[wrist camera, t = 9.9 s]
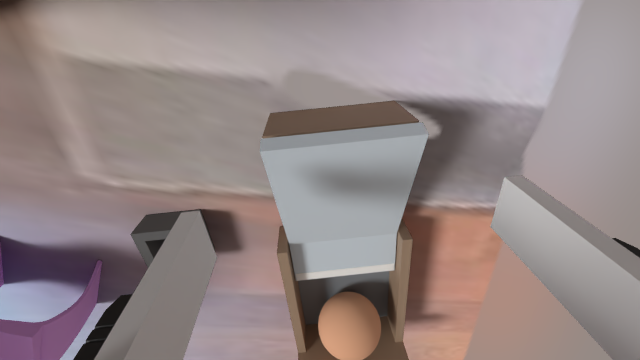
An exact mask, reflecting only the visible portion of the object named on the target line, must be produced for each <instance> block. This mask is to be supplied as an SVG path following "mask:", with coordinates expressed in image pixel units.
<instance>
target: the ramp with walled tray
mask: <svg viewBox="0 0 640 360" xmlns="http://www.w3.org/2000/svg"><path fill="white" fill-rule="evenodd" d="M428 135H429V134H428V132H427V130H426V128H425V125H424V124H423V122H419V120H418V119H416V118H415V117H414V116H413V115H411V114H410V113H409V112H408V111H407V110H405V109H404V108H403V107H402V106H400V105H399V104H398V103H397V102H396V101H386V102H376V103H367V104H358V105H348V106H337V107H328V108H317V109H308V110H298V111H288V112H278V113H270V116H269V118H268V121H267V124H266V127H265V130H264V133H263V136H262V138H263V139H261V142H260V154H261V157H262V160H263V163H264V166H265V169H266V173H267V176H268V179H269V182H270V185H271V188H272V192H273V195H274V198H275V201H276V204H277V207H278V211H279V214H280V217H281V220H282V223H283V226H281V227H280V229H279V239H278V249H277V256H278V261H279V265H280V270H281V275H282V279H283V284H284V289H285V293H286V298H287V303H288V307H289V312H290V317H291V321H292V326H293V331H294V335H295V340H296V344H297V349H298V360H340V359H337V358H336V357H334V356H333V355H332V354H330V353H329V352H328V351H327V349H326V348H325V347H324V345H323V343H322V341H321V338H320V335H319V330H318V321H319V315H320V312H321V310H322V308H323V306H324V304H325V303H326V302H327V301H328V300H329V299H330V298H331V297H332V296H334V295H336V294H338V293H341V292H356V293H359V294H361V295H363V296H364V297H366V298H367V299H368V300H370V302H371V303H372V304H373V305H374V307H375V308H376V310H377V312H378V314H379V317H380V321H381V336H380V340H379V342H378V345H377V347H376V348H375V350H374V351H373V352H372V353H371V354H370V355H369V356H368V357H366V358H365V359H363V360H409V359H408V356H407V353H406V350H405V347H404V343H403V335H404V324H405V314H406V304H407V293H408V283H409V273H410V262H411V252H412V241H413V239H412V237H411V235H410V233H409V231H408V229H407V227H406V225H405V223H404V222H403V220H402V216H403V213H404V210H405V206H406V203H407V200H408V197H409V194H410V191H411V188H412V185H413V182H414V179H415V176H416V172H417V169H418V166H419V163H420V160H421V157H422V154H423V151H424V148H425V145H426V142H427V138H428Z"/></svg>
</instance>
